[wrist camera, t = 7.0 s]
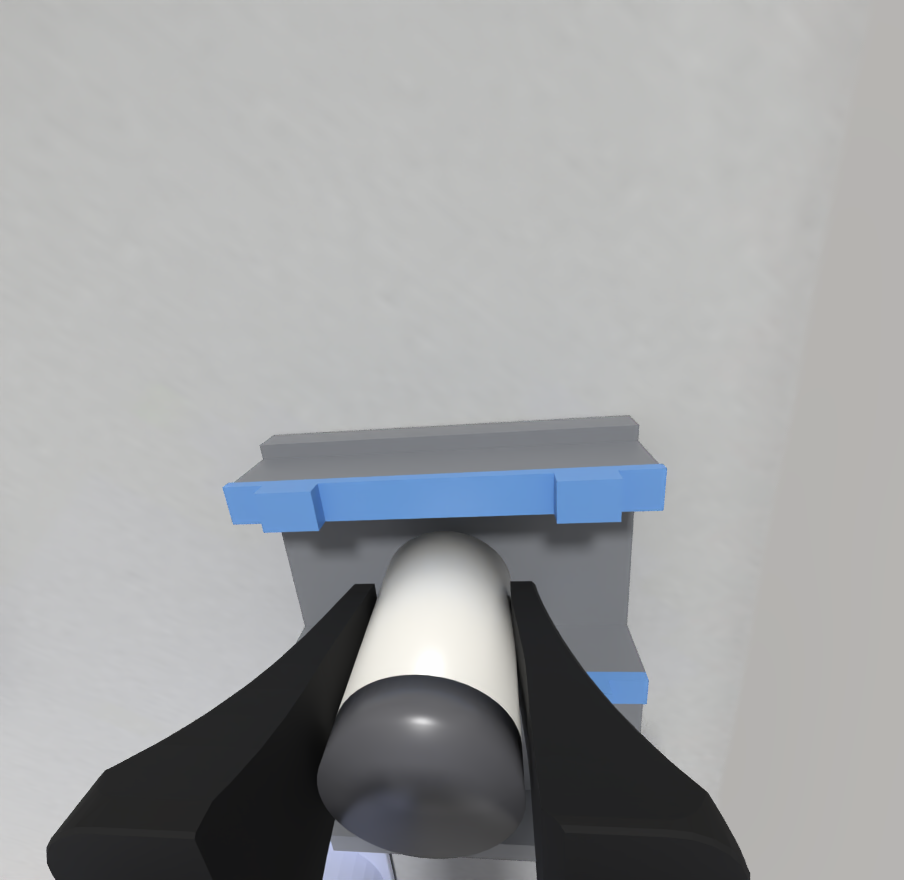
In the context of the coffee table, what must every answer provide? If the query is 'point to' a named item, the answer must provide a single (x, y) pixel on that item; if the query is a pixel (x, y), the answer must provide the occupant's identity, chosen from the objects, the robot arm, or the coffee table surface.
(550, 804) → the robot arm
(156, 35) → the coffee table surface
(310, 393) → the coffee table surface
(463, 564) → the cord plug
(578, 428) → the storage rack
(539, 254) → the coffee table surface
